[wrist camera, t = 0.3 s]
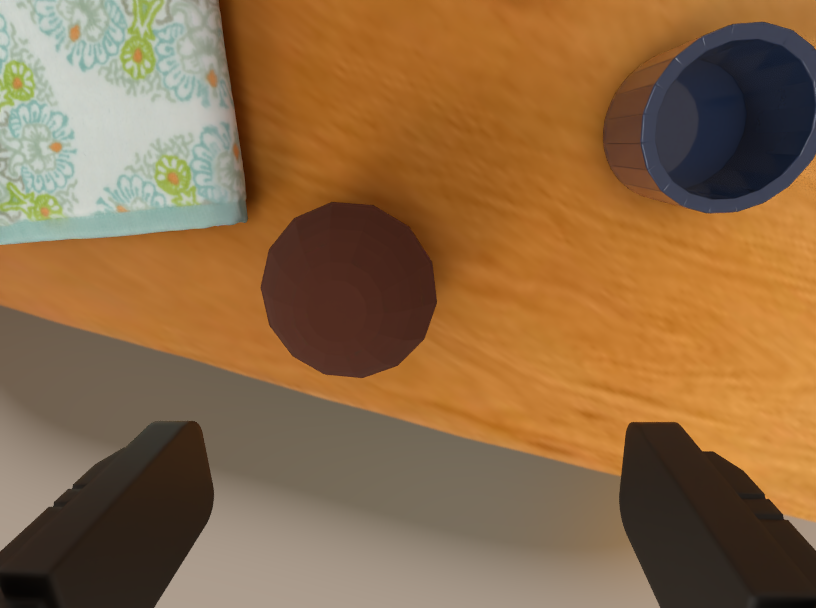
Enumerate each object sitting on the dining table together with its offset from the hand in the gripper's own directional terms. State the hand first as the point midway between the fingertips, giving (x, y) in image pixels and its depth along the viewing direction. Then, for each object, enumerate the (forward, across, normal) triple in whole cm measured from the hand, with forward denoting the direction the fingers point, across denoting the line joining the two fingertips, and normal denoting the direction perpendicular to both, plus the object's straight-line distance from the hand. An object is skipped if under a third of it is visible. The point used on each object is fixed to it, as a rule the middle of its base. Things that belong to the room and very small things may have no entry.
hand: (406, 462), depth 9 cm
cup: (+28, -16, -6) cm, 33 cm away
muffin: (+29, +6, +3) cm, 29 cm away
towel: (+29, +24, -9) cm, 38 cm away
